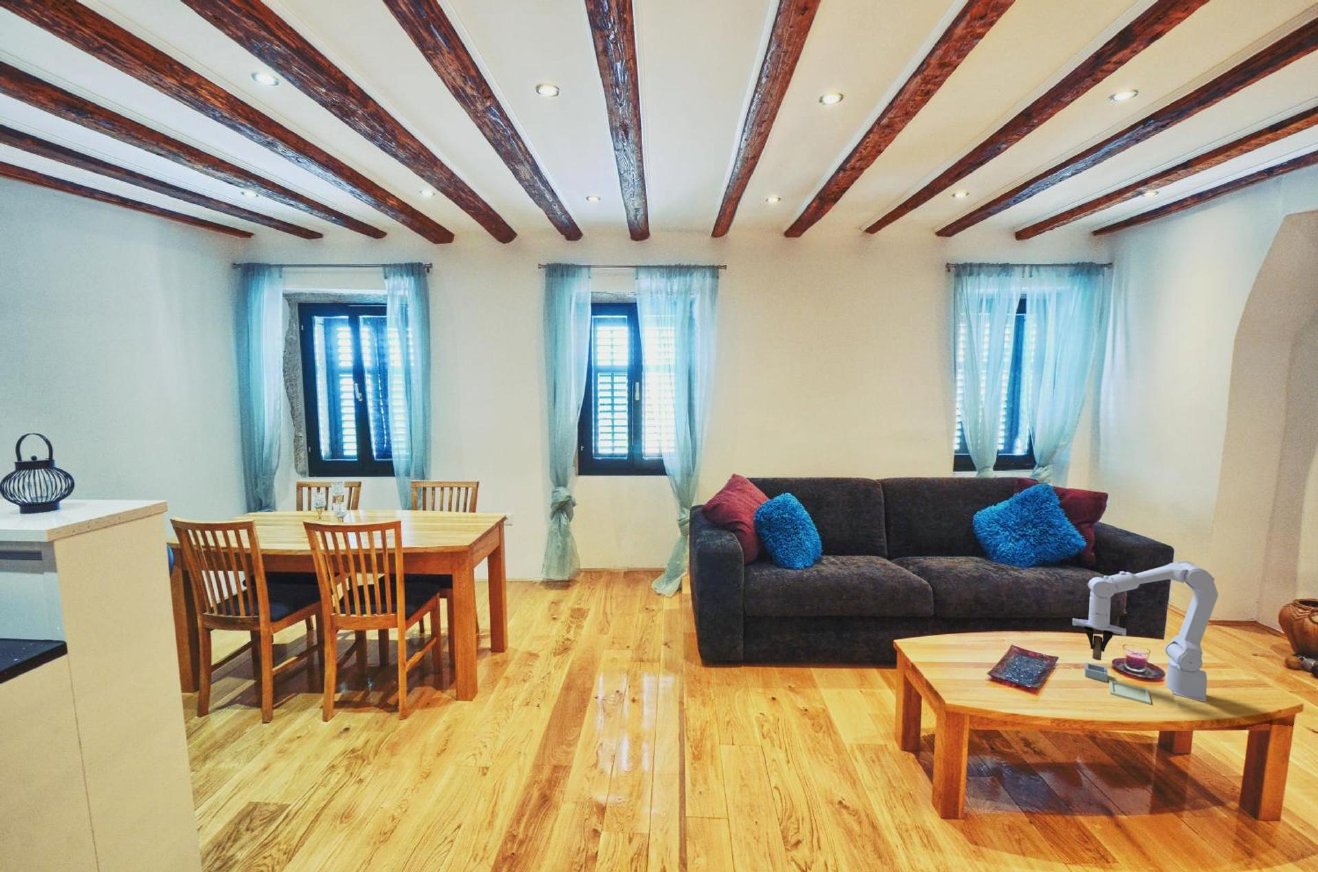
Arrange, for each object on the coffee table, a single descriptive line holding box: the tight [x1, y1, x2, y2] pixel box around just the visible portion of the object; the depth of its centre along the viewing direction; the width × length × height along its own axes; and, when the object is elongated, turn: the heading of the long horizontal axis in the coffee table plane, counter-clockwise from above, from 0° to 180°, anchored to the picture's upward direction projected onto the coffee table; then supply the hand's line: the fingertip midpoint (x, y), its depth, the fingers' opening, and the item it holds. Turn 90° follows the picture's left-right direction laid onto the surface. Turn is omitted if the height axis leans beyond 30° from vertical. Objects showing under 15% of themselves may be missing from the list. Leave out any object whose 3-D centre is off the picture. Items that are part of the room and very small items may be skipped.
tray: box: [1108, 679, 1152, 705], centre depth 179 cm, size 10×10×1 cm
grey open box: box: [1084, 662, 1109, 683], centre depth 189 cm, size 6×6×3 cm
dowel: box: [1091, 634, 1103, 661], centre depth 189 cm, size 2×2×8 cm
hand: (1097, 649), depth 189 cm, fingers closed on dowel, 2 cm apart
